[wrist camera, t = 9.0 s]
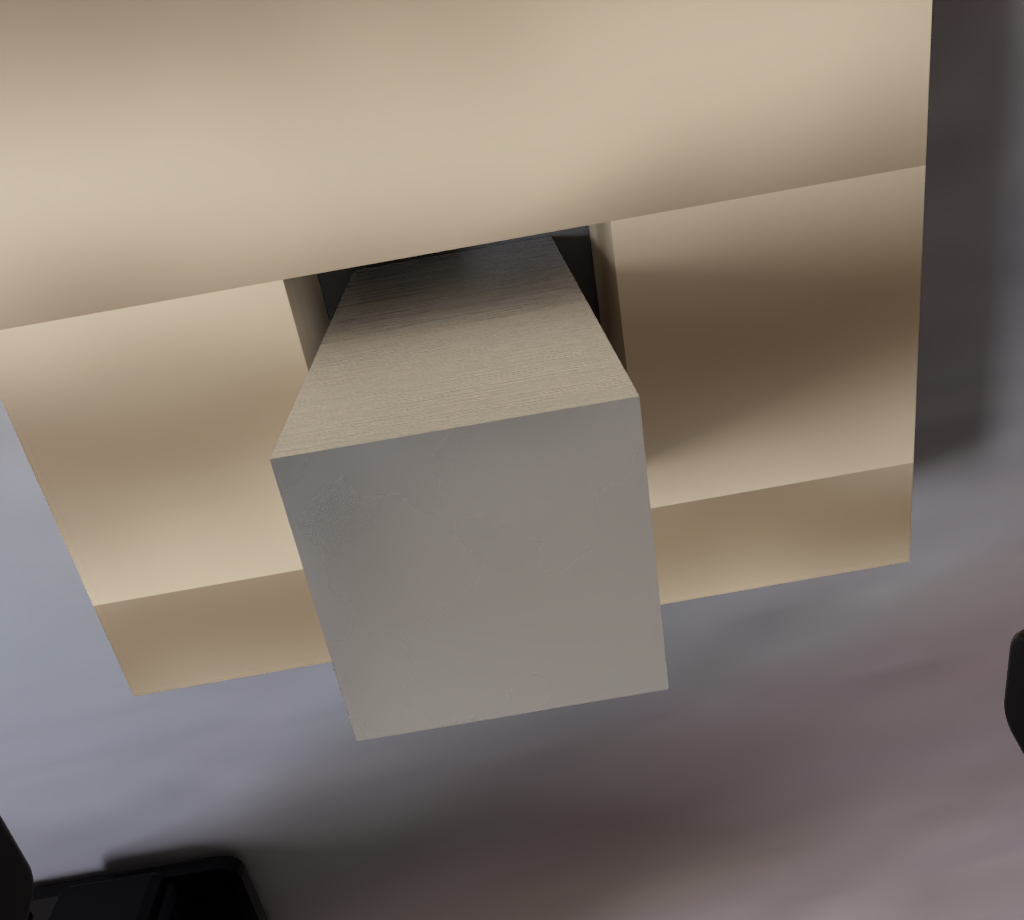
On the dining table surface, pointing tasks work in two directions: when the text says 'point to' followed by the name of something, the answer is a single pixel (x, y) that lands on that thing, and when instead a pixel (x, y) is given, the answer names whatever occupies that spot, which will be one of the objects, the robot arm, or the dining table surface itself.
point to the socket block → (445, 226)
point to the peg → (473, 495)
